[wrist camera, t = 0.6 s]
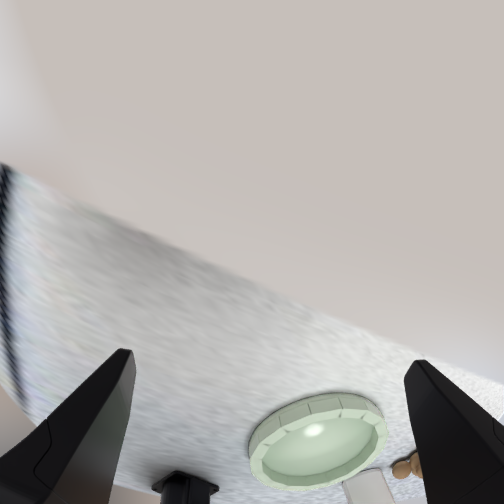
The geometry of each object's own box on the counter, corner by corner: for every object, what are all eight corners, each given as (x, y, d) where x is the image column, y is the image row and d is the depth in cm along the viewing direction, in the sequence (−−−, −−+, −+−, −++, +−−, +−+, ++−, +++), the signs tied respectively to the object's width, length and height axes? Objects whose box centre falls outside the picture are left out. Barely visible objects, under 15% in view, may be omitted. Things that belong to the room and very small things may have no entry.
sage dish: (311, 485, 34) (315, 499, 32) (220, 452, 30) (220, 469, 28) (402, 420, 32) (410, 433, 29) (322, 370, 28) (329, 387, 25)
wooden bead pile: (405, 473, 36) (416, 496, 32) (386, 467, 35) (397, 492, 30) (446, 441, 35) (460, 463, 30) (430, 432, 33) (445, 456, 29)
